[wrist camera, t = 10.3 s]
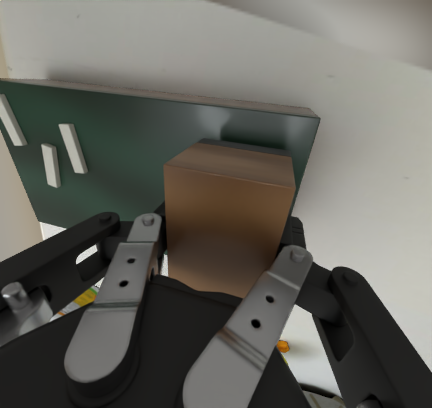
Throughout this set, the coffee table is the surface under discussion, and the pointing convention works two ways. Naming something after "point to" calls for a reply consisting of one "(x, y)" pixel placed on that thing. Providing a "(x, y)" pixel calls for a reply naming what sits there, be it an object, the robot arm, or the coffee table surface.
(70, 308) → the supplement bottle
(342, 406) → the planter
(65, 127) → the chalk stroke
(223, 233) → the eraser
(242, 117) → the chalkboard
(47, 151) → the chalk stroke
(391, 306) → the coffee table surface
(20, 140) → the chalk stroke
